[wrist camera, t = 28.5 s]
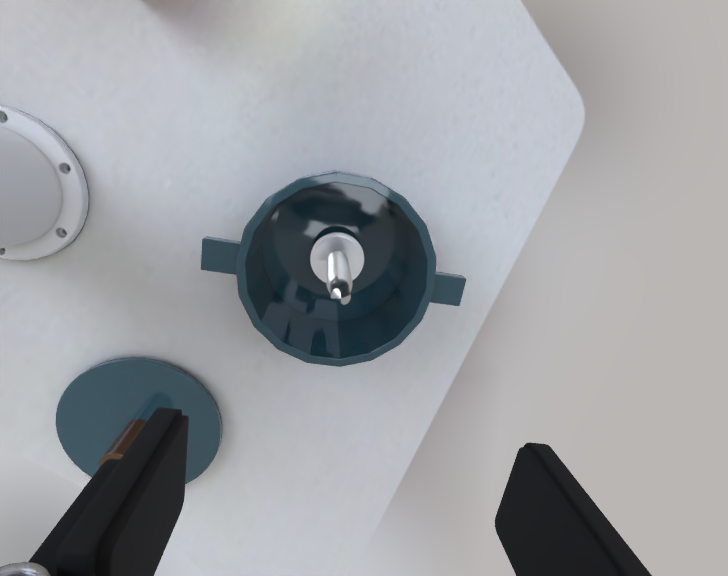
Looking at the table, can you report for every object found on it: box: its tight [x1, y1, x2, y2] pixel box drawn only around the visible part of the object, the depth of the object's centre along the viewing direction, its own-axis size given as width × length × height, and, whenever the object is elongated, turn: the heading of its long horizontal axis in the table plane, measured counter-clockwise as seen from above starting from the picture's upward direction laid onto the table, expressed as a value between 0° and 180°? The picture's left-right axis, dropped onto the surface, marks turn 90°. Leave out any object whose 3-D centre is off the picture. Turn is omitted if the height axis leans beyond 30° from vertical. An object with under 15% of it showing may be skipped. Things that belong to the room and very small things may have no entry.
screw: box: [310, 232, 364, 305], centre depth 31 cm, size 13×5×5 cm
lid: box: [56, 358, 222, 484], centre depth 39 cm, size 16×16×6 cm
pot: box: [201, 171, 466, 367], centre depth 34 cm, size 15×20×8 cm
